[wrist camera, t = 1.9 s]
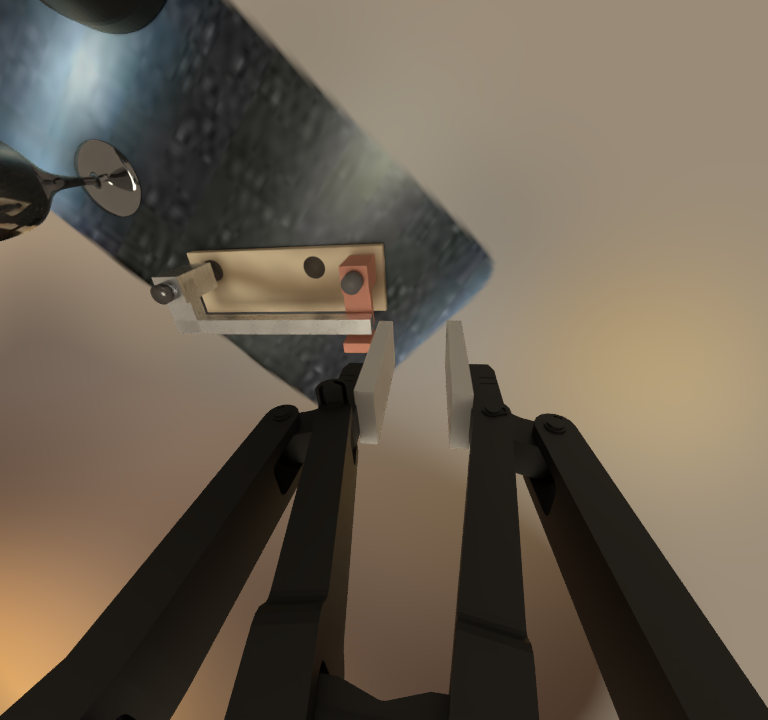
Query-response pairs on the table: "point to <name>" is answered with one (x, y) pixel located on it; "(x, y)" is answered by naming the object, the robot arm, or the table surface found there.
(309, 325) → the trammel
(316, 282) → the bolt plate
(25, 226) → the wine glass
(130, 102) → the table surface
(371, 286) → the slide leg
